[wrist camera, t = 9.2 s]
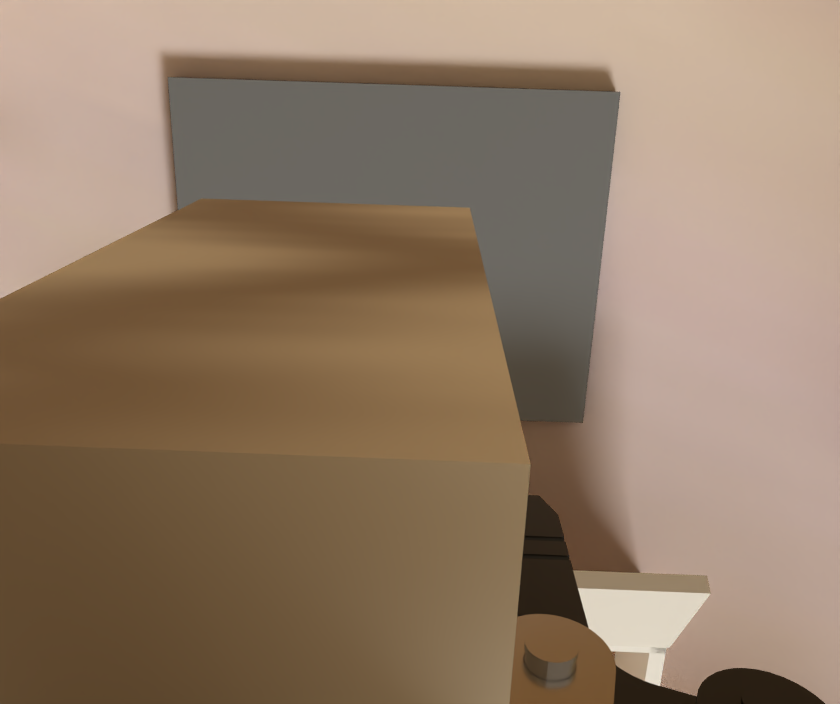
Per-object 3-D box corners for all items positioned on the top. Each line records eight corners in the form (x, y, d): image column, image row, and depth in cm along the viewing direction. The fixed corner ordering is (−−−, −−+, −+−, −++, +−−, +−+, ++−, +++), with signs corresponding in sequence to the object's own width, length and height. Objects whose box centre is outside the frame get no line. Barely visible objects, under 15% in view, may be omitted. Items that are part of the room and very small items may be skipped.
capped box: (475, 207, 11) (556, 484, 4) (449, 691, 14) (462, 1405, 7) (194, 197, 11) (-330, 450, 4) (228, 682, 14) (-16, 1377, 7)
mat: (616, 91, 26) (620, 92, 25) (580, 416, 30) (582, 422, 29) (173, 77, 26) (167, 77, 25) (197, 401, 30) (193, 407, 29)
